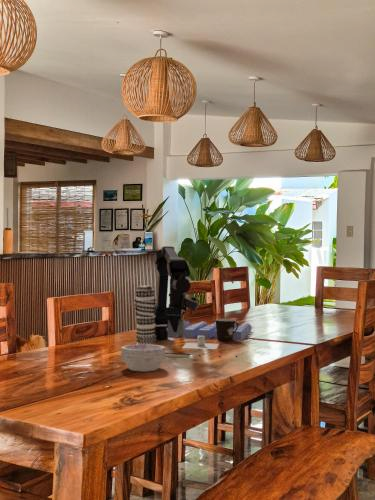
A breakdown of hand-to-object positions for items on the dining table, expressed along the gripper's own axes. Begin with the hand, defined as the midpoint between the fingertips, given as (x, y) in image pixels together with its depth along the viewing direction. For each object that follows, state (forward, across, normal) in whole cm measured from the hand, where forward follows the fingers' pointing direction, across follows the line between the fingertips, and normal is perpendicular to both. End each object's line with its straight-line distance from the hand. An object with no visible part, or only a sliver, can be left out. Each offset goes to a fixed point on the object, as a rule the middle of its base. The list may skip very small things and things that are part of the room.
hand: (176, 330), depth 255 cm
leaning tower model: (+9, +22, +16) cm, 29 cm away
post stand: (+9, +16, -8) cm, 20 cm away
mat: (+9, 0, 0) cm, 9 cm away
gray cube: (+1, 0, 0) cm, 1 cm away
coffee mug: (+10, +35, -18) cm, 40 cm away
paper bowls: (+10, -31, +7) cm, 33 cm away
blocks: (+10, +59, -8) cm, 60 cm away
